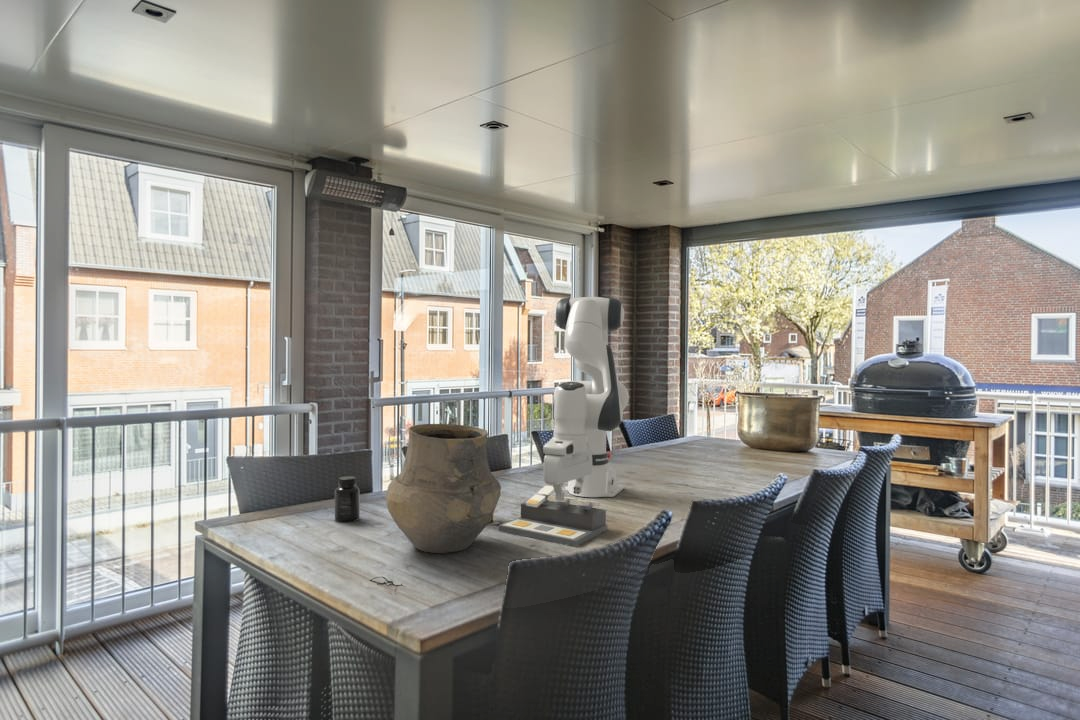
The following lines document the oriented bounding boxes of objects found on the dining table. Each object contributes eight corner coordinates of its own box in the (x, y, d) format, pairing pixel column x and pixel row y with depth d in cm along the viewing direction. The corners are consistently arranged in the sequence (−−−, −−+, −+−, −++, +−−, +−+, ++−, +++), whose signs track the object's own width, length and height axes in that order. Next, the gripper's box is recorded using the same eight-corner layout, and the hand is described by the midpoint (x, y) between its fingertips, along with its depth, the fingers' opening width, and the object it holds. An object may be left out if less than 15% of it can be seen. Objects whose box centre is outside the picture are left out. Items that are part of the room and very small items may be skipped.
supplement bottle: (364, 518, 184) (364, 476, 184) (348, 523, 178) (348, 481, 177) (346, 515, 187) (346, 474, 186) (329, 520, 180) (329, 478, 180)
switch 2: (566, 505, 184) (567, 496, 184) (577, 506, 182) (578, 498, 182) (546, 504, 175) (548, 495, 175) (558, 506, 173) (559, 497, 173)
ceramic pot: (447, 524, 179) (449, 418, 178) (524, 545, 161) (526, 427, 160) (362, 547, 157) (363, 426, 156) (439, 575, 139) (441, 438, 138)
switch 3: (587, 508, 180) (588, 500, 181) (598, 510, 178) (599, 501, 179) (569, 508, 171) (570, 499, 172) (580, 510, 169) (581, 501, 170)
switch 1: (546, 492, 188) (545, 485, 188) (557, 494, 186) (556, 486, 186) (526, 509, 179) (525, 502, 179) (537, 511, 177) (536, 504, 177)
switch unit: (534, 516, 189) (534, 498, 188) (607, 530, 176) (607, 510, 176) (498, 530, 173) (498, 510, 173) (575, 546, 161) (576, 525, 160)
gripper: (578, 438, 177) (577, 488, 178) (539, 447, 160) (538, 502, 160) (598, 440, 174) (597, 491, 174) (561, 449, 157) (560, 505, 157)
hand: (569, 496), depth 167 cm, fingers open, 8 cm apart
